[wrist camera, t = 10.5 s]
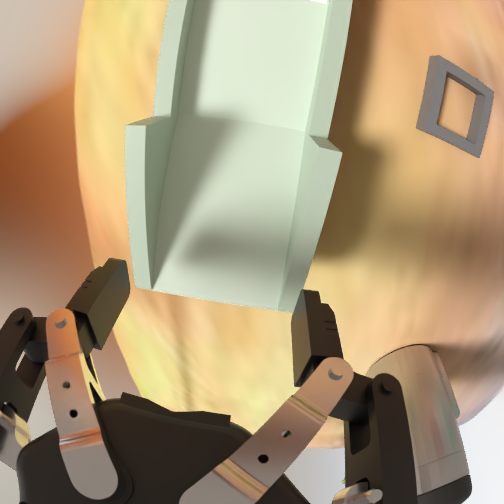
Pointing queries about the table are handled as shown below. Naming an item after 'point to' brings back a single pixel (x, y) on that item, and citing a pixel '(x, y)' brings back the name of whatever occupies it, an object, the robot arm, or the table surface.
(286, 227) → the lane
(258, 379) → the table surface
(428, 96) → the grey picture frame
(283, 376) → the table surface
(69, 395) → the robot arm
